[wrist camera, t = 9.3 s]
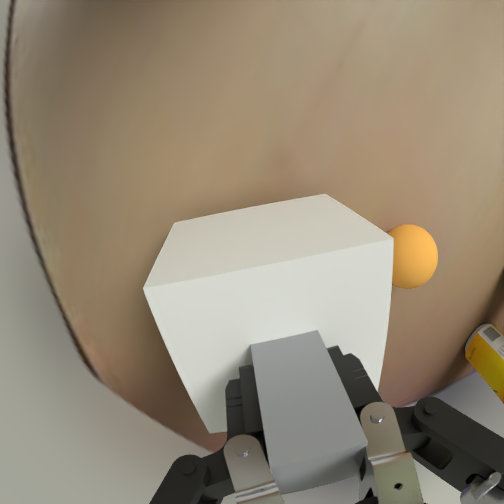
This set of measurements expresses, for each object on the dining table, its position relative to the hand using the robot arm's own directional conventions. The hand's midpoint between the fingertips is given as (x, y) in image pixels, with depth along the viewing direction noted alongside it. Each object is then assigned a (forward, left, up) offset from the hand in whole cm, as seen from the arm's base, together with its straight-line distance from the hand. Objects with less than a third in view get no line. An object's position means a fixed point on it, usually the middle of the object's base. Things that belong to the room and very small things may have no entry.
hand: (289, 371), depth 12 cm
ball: (+1, +11, -9) cm, 14 cm away
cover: (0, 0, -10) cm, 10 cm away
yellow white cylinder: (+18, +28, -11) cm, 35 cm away
